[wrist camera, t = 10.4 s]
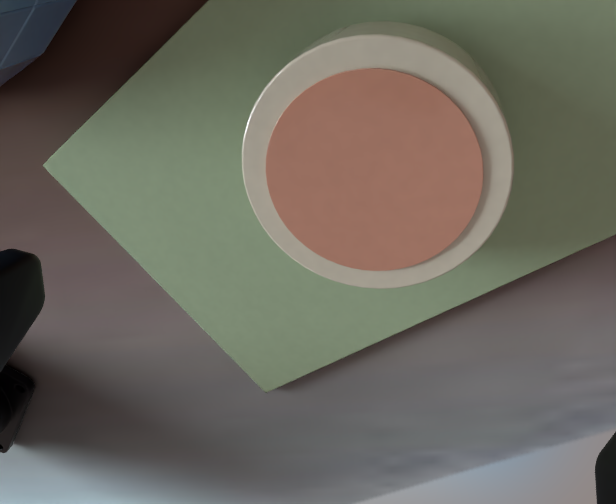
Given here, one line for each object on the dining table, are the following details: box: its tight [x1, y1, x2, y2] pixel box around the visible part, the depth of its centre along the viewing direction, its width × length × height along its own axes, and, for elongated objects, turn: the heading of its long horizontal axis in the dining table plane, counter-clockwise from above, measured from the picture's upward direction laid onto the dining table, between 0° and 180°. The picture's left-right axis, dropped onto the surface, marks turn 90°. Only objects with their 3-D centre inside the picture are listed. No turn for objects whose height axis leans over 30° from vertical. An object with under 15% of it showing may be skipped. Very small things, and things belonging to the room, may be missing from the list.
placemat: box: [43, 0, 616, 393], centre depth 16 cm, size 20×12×1 cm, turn 129°
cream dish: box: [242, 21, 514, 289], centre depth 15 cm, size 7×7×3 cm
